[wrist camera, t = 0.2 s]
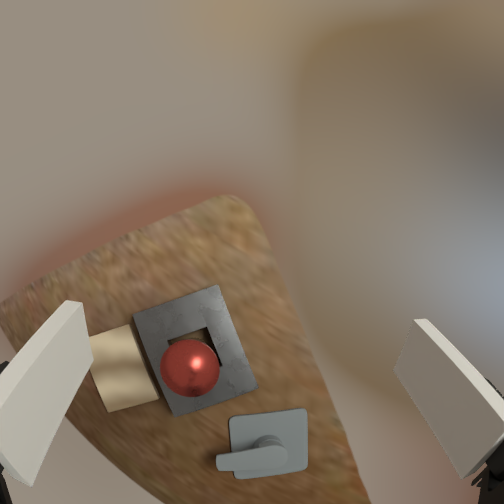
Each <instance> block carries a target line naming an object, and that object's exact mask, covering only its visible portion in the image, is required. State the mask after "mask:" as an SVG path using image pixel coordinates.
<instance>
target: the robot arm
mask: <svg viewBox="0 0 504 504" xmlns="http://www.w3.org/2000/svg"><path fill="white" fill-rule="evenodd" d="M93 361H94V359H93V354H92V350H91V346H90V341H89V336H88V332H87V326H86V321H85V316H84V310H83V304H82V303H81V302H74V301H68V300H66V301H65V302H64V303H63V304H62V305H61V306H60V307H59V308H58V309H57V310H56V311H55V312H54V313H53V314H52V315H51V316H50V317H49V319H48V320H47V321H46V322H45V323H44V324H43V325H42V326H41V327H40V328H39V329H38V331H37V332H36V333H35V334H34V335H33V336H32V337H31V338H30V340H29V341H28V342H27V343H26V344H25V345H24V346H23V348H22V349H21V350H20V351H19V352H18V353H17V355H16V356H15V357H14V359H12V361H11V362H8V361H5V362H3V363H2V364H0V504H12V501H11V498H10V495H9V492H8V488H7V485H6V482H5V479H4V478H3V475H2V474H1V473H2V471H3V469H5V470H6V471H7V472H8V473H9V474H10V475H11V476H12V478H14V479H16V480H18V481H20V482H22V483H24V484H26V485H28V486H30V487H32V486H33V484H34V481H35V479H36V476H37V474H38V471H39V469H40V467H41V464H42V462H43V460H44V458H45V455H46V453H47V451H48V449H49V446H50V444H51V442H52V440H53V438H54V436H55V434H56V431H57V429H58V427H59V425H60V423H61V421H62V419H63V417H64V415H65V413H66V411H67V409H68V407H69V405H70V403H71V401H72V399H73V398H74V396H75V394H76V392H77V390H78V388H79V386H80V384H81V382H82V381H83V379H84V377H85V375H86V373H87V372H88V370H89V368H90V366H91V364H92V363H93ZM393 371H394V373H395V374H396V376H397V377H398V379H399V380H400V381H401V383H402V385H403V386H404V387H405V389H406V390H407V392H408V394H409V395H410V397H411V398H412V400H413V401H414V403H415V405H416V406H417V408H418V409H419V411H420V412H421V414H422V415H423V417H424V419H425V420H426V422H427V423H428V425H429V427H430V428H431V430H432V431H433V433H434V435H435V436H436V438H437V439H438V441H439V443H440V444H441V446H442V448H443V449H444V451H445V453H446V454H447V456H448V458H449V459H450V461H451V463H452V465H453V466H454V468H455V470H456V471H457V473H458V475H459V477H460V478H461V480H462V479H463V478H465V477H467V476H469V475H471V474H473V473H475V472H476V471H477V470H478V469H479V468H480V467H481V466H482V465H483V464H484V463H485V462H486V464H487V465H488V466H487V467H486V468H485V469H484V470H483V471H482V472H481V473H480V474H479V475H478V476H477V477H476V478H475V479H474V480H473V481H472V484H471V485H472V486H473V485H474V484H476V483H477V482H478V481H479V480H480V479H481V478H482V480H481V481H480V482H479V483H478V484H477V487H481V489H480V495H479V502H478V504H504V397H502V394H500V392H499V391H498V390H496V388H495V387H494V385H492V383H491V382H490V381H489V380H487V379H486V378H485V377H483V376H482V375H480V373H479V372H478V371H477V370H476V369H475V368H474V367H473V366H472V364H470V362H469V361H468V360H467V359H466V358H465V357H464V356H463V355H462V354H461V353H460V352H459V351H458V350H457V349H456V348H455V347H454V346H453V345H452V344H451V343H450V342H449V341H448V340H447V339H446V338H445V337H444V336H443V335H442V334H441V333H440V332H439V331H438V330H437V329H436V328H435V327H434V326H433V325H432V324H431V323H430V322H429V321H428V320H427V319H414V320H413V322H412V324H411V327H410V330H409V333H408V335H407V338H406V341H405V343H404V346H403V348H402V351H401V353H400V356H399V358H398V360H397V363H396V365H395V368H394V370H393Z"/></svg>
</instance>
